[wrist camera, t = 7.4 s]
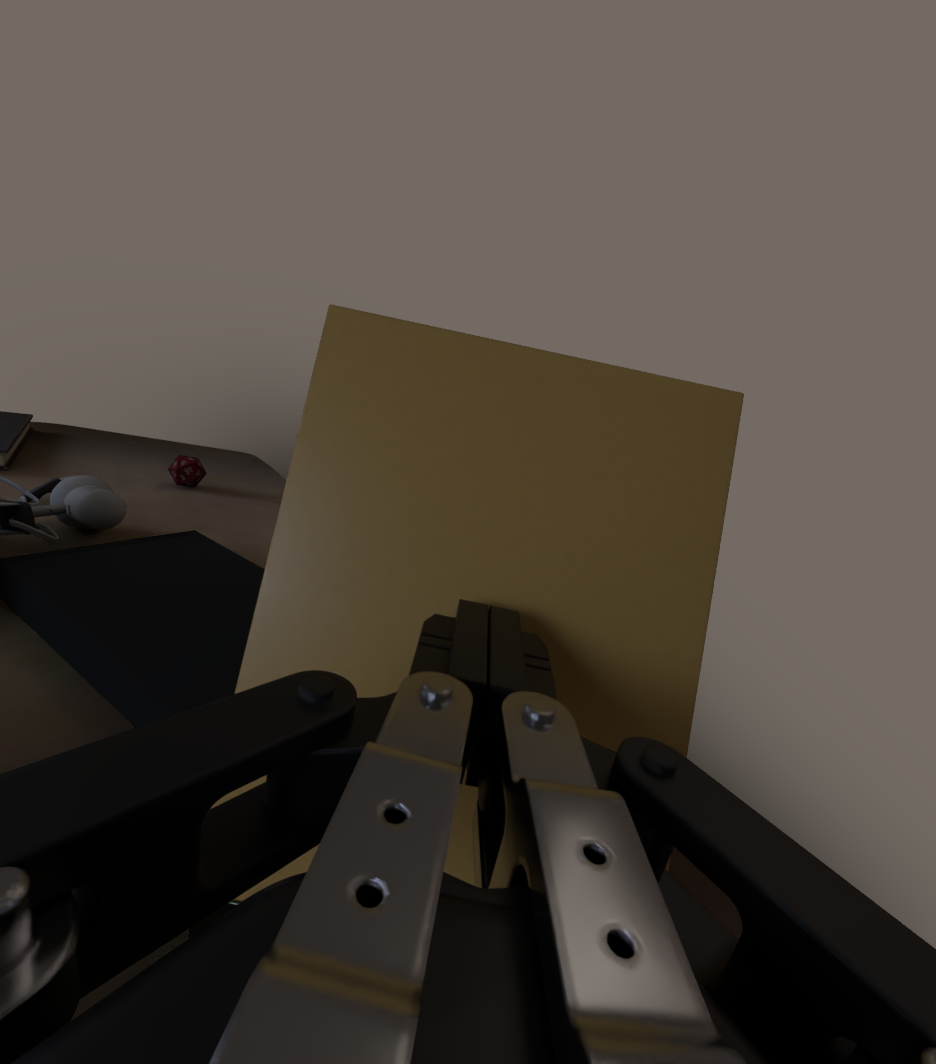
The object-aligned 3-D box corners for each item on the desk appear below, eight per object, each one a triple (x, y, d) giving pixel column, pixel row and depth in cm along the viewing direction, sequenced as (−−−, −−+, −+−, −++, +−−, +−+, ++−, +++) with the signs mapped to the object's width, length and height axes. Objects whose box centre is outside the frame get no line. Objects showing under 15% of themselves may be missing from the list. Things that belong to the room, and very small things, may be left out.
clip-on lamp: (-49, 532, 51) (-37, 564, 38) (-65, 465, 49) (-58, 476, 37) (97, 514, 59) (146, 536, 46) (87, 456, 57) (134, 463, 45)
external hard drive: (195, 560, 49) (196, 529, 48) (381, 673, 38) (388, 636, 37) (-2, 598, 37) (-5, 559, 36) (186, 779, 26) (189, 728, 25)
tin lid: (333, 314, 15) (328, 302, 14) (733, 400, 15) (745, 392, 14) (197, 877, 13) (185, 891, 13) (643, 964, 13) (651, 982, 13)
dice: (204, 492, 68) (205, 461, 67) (164, 488, 66) (165, 456, 65) (207, 484, 71) (209, 455, 70) (169, 480, 69) (170, 450, 68)
